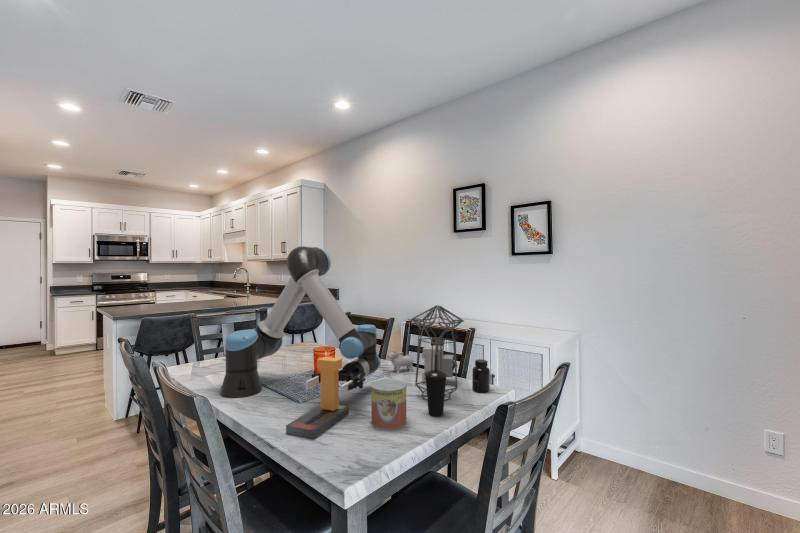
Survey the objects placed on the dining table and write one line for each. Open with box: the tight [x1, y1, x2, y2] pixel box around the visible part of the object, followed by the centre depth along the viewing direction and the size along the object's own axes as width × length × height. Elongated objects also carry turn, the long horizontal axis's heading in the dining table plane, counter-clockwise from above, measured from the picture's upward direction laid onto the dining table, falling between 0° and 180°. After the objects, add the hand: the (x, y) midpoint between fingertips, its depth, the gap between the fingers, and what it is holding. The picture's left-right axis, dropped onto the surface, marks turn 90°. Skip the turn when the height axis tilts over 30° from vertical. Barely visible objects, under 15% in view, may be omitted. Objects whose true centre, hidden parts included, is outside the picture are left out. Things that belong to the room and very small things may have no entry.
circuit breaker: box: [421, 344, 458, 386], centre depth 163 cm, size 8×14×15 cm, turn 78°
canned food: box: [370, 379, 408, 431], centre depth 122 cm, size 11×11×12 cm
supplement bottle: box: [471, 359, 491, 394], centre depth 153 cm, size 7×7×12 cm
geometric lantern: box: [410, 304, 465, 402], centre depth 145 cm, size 16×16×35 cm
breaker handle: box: [316, 356, 343, 411], centre depth 126 cm, size 4×7×16 cm, turn 68°
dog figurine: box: [386, 349, 414, 374], centre depth 181 cm, size 5×13×11 cm, turn 114°
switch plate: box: [285, 404, 350, 440], centre depth 121 cm, size 20×10×3 cm, turn 158°
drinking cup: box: [424, 354, 448, 418], centre depth 129 cm, size 8×8×20 cm
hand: (323, 387), depth 123 cm, fingers open, 12 cm apart
